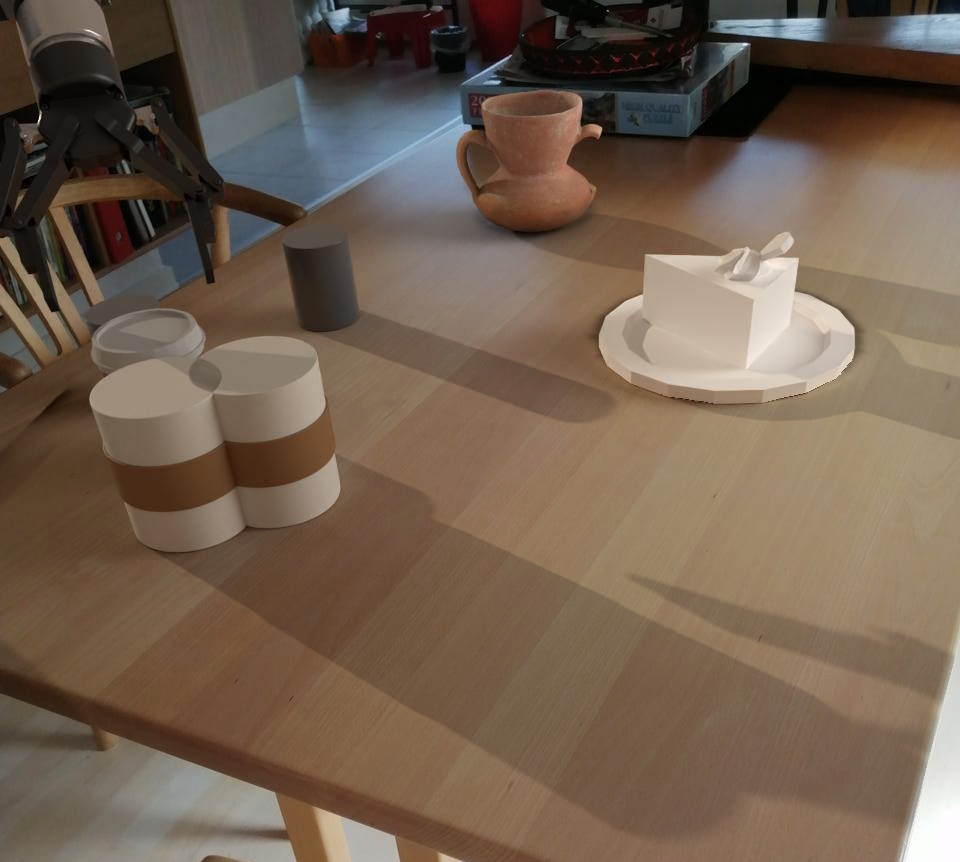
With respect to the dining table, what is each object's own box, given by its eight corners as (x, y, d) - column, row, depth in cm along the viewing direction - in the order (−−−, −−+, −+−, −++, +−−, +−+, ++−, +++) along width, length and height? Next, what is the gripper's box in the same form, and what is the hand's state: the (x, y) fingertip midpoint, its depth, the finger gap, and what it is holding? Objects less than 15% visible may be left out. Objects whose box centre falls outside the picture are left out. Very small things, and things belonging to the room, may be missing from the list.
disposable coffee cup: (109, 456, 95) (66, 332, 87) (200, 417, 99) (167, 296, 92) (158, 495, 89) (118, 367, 81) (252, 452, 94) (222, 327, 86)
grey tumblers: (99, 398, 104) (70, 312, 98) (333, 299, 119) (321, 219, 113) (135, 420, 100) (107, 332, 94) (373, 315, 115) (361, 233, 109)
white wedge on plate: (887, 319, 106) (910, 205, 99) (794, 428, 91) (814, 304, 84) (668, 277, 117) (675, 173, 110) (554, 369, 102) (552, 255, 95)
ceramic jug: (602, 200, 138) (603, 82, 129) (599, 240, 127) (600, 115, 118) (468, 204, 140) (460, 88, 131) (454, 244, 129) (444, 121, 120)
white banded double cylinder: (109, 549, 84) (61, 417, 76) (181, 456, 94) (145, 331, 86) (306, 563, 80) (276, 426, 73) (357, 465, 91) (336, 336, 83)
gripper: (215, 71, 98) (273, 283, 97) (-62, 110, 93) (-5, 335, 92) (210, 17, 91) (272, 245, 89) (-92, 56, 85) (-30, 299, 84)
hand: (132, 291), depth 91 cm, fingers open, 13 cm apart
